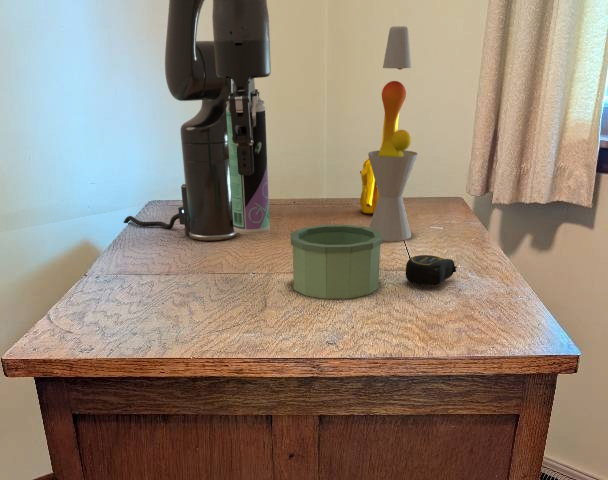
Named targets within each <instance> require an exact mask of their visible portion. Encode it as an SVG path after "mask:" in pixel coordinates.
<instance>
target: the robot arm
mask: <svg viewBox="0 0 608 480" xmlns="http://www.w3.org/2000/svg"><path fill="white" fill-rule="evenodd" d="M205 1H206V0H168V13H167V26H166V37H165V47H164V48H165V50H164V75H165V81H166V85H167V89H168V91H169V93H170V95H171V96H172V97H173V99H175V100H176V101H179V102H194V101H201V105H200V106H201V107H200V109H199V110H198V112H197V113H196V114H195V115H194V116H193V117H191V118H189V120H187V121H185V122H184V123H182V124H181V126H180V131H179V132H180V141H181V153H182V154H181V155H182V163H183V164H182V165H183V176H184V183H183V184H181V185H180V190H181V200H182V201H181V202H182V206H179V207H177V211H178V213H176V214H174V215H172V217H171V218H170V220H169V223H167V222H164V221H158V220H157V221H156V220H155V221H141V220H139V219H137V218H136V217H134V216H132V215H128V216H127V217H125V218H124V220H123V224H128V223H129V222H130V221H131V222H132V223H134V224H135V225H138V226H140V227H161V228H162V227H163V228H165V229H167V230H170V229H173V227H174V225H175V222H176V221H177V220H178V221H179V225H182V226H184V232H185V233H184V234H185V236H186V237H189V238H190V239H193V240H197V241H208V242H209V241H222V240H223V241H225V240H229V239H232V238H234V237H236V236H238V233H236V232H235V231H234V226H233V211H232V195H231V179H230V163H229V147H228V131H227V115H226V108H227V103H226V102H227V101H229V104H230V111H231V125H232V134H233V137H232V141H233V143H234V144H235V146H239V147H237V162H238V173H239V174H240V175H252V174H253V173H254V160H253V144H254V140H253V130H254V129H256V127H257V124H256V106H257V104H258V98H260V99H261V93H260V91H259V89H258V88H256V86H255V79H261V78H267V77H269V76H270V75H271V72H272V66H271V64H272V63H271V62H272V61H271V40H270V39H271V38H270V37H271V36H270V15H269V8H268V1H267V0H212V16H211V17H212V32H213V33H212V34H213V40H197V33H198V24H199V20H200V15H201V12H202V9H203V5H204V3H205ZM252 92H255V93H252ZM251 101H252V103H254V104H253V105H252V119H251V120H250V112H251ZM241 128H246V129H247V133H243V134H239V129H241Z"/></svg>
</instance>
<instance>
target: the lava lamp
mask: <svg viewBox="0 0 608 480" xmlns="http://www.w3.org/2000/svg"><path fill="white" fill-rule="evenodd" d="M387 36H388V37H387V42H386V48H385V53H384V59H383V64H382V69H397V70H399V71H401V70H404V69H411V68H412V61H411V50H410V49H411V47H410V35H409V27H407V26H405V25H403V26H399V25H398V26H391V27H390V28H389V30H388V35H387ZM406 90H407V89H406V87H405V86H404V84H403V83H402V82H400V81H398V80H391V81H389V82H387V83H386V84H385V85H384V86H383V88H382V90H381V101H382V105H383V109H384V115H385V119H386V121H385V133H384V139H383V143H382V142H381V144H382V146H381V145H380V149H379V150H373V151H369V152H368V153H367V155H368V158H369V160H370V163H371V167H372V171H373V174H374V178H375V181H376V185H377V188H378V192H379V199H378V202H377V205H376V208H375V211H374V213H372V214H373V215H372V216H371V220H370V223H369V226H368V228H371V229H374V230H377V231H380V232H381V235H382V237H383V242H402V241H407V240H409V239H411V238H412V234H411V230H410V225H409V221H408V216H407V212H406V207H405V203H404V198H403V194H404V191H405V188H406V186H407V183H408V181H409V178H410V176H411V173H412V170H413V167H414V165H415V162H416V161H417V157H418V152H416V151H412V150H408V148H409V147H410V146H411V143H412V136H411V134H410V132H408V131H407V130H405V129H397V131H396V132H395V126H396V120H397V117H398V114H399V115H400V111H401V109H402V106H403V104H404V102H405V100H406V97H407V91H406Z"/></svg>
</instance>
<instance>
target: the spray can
mask: <svg viewBox="0 0 608 480" xmlns="http://www.w3.org/2000/svg"><path fill="white" fill-rule="evenodd" d="M252 93H255V92H252ZM226 103H227V108H226V115H227V131H228V147H229V163H230V179H231V195H232V211H233V226H234V231H235V232H236V233H237V234H244V235H258V234H264V233H267V232H269V231H270V225H271V224H270V203H269V202H270V201H269V199H270V197H269V176H268V175H269V174H268V172H269V171H268V148H267V146H268V145H267V123H266V122H267V121H266V107H265V105H264V104H265V101H264V100H262V99H261V97H260V98H258V104H257V106H256V124H257V127H256V129H254V130H253V140H254V144H253V160H254V173H253V174H252V175H240V174H239V173H238V162H237V147H239V146H235V144H234V143H233V141H232V137H233V134H232V125H231V111H230V104H229V101H227V102H226ZM253 104H254V103H252V101H251V112H250V120H251V119H252V105H253ZM243 133H247V129H246V128H241V129H239V134H243Z"/></svg>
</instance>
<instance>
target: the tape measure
mask: <svg viewBox="0 0 608 480" xmlns="http://www.w3.org/2000/svg"><path fill="white" fill-rule="evenodd" d="M457 267H458V266H457V265H455V261H454V260H453V259H451V258H442V257H440V256H438V255H433V254H432V255H431V254H419V255H414V256H411V257H410V258H409V259H408V260H407V262H406V264H405V278H406V280H407V282H409V283H412V284H414V285H418V286H439V285H441V284H443V282H445V281H446V280H448V279H450V278H451V277H452V276H453V275H454V273H457Z"/></svg>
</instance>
